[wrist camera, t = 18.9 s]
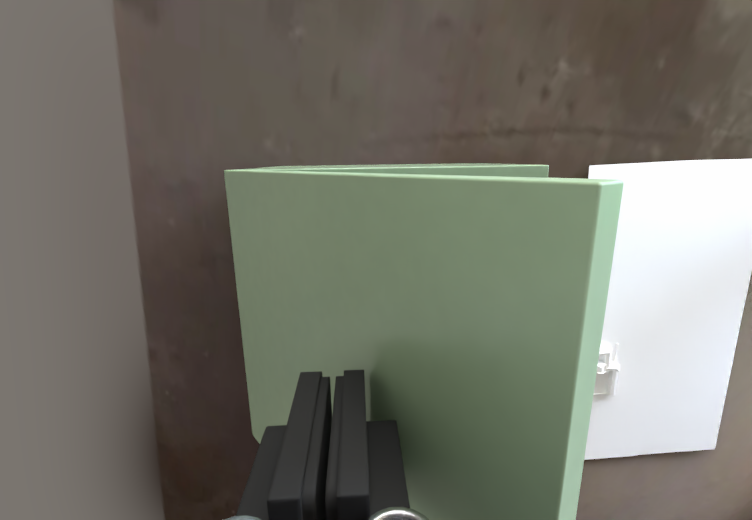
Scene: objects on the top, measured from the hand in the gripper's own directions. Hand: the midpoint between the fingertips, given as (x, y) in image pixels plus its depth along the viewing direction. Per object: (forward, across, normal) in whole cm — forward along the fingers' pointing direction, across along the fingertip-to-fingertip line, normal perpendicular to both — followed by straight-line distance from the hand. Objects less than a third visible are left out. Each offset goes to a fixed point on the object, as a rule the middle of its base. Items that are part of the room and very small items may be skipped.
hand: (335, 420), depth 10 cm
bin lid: (+2, 0, 0) cm, 2 cm away
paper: (+18, -22, +6) cm, 29 cm away
